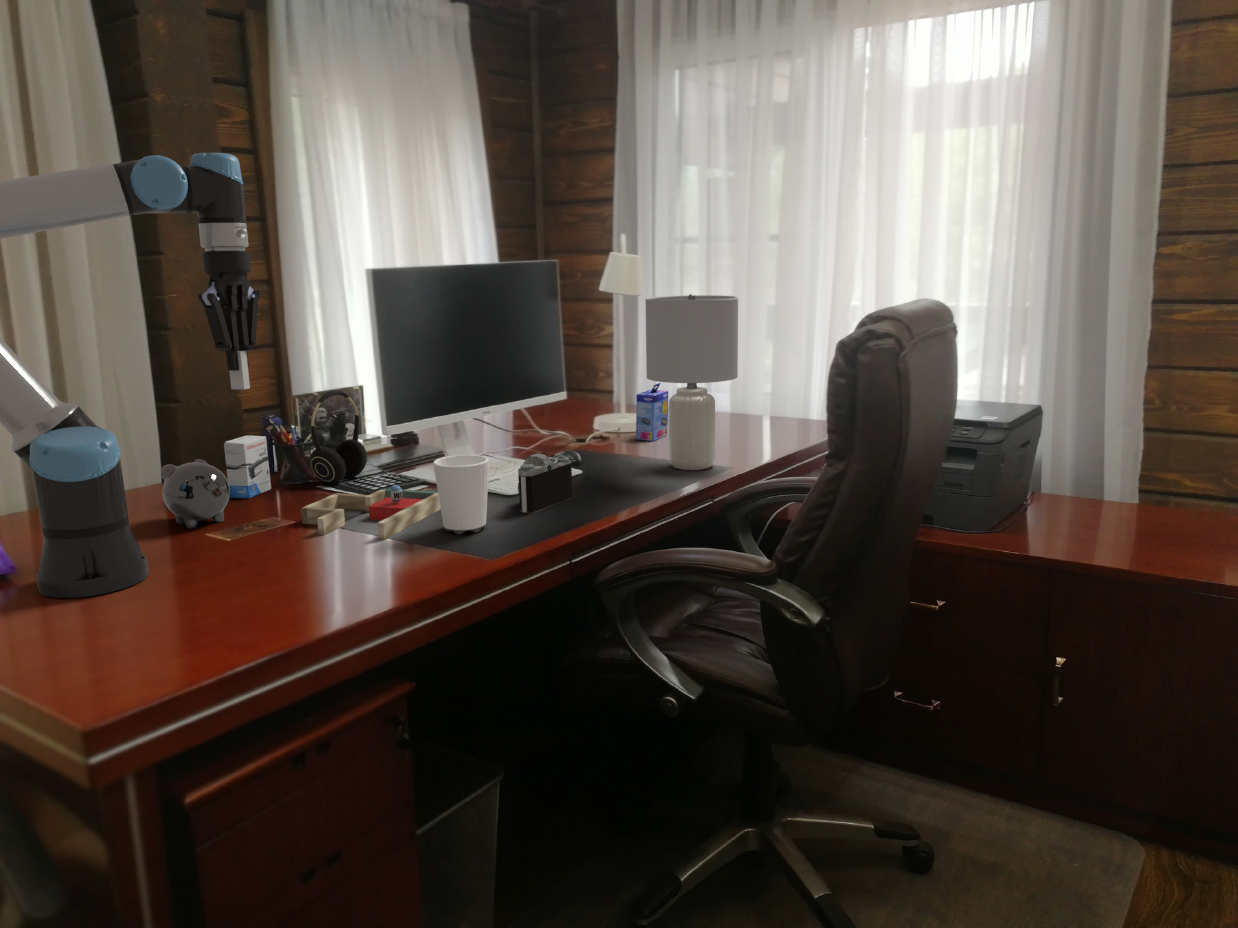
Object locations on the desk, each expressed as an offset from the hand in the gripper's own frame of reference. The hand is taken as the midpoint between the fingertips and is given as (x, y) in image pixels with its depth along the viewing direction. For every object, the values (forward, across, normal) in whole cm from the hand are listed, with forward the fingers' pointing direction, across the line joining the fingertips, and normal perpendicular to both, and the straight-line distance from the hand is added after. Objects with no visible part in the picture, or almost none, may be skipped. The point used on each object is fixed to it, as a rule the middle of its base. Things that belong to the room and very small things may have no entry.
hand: (240, 388), depth 165 cm
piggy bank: (+27, +4, +16) cm, 31 cm away
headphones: (+27, +40, +9) cm, 49 cm away
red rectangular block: (+27, +17, -19) cm, 37 cm away
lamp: (+27, +70, -64) cm, 99 cm away
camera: (+27, +32, -42) cm, 59 cm away
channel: (+26, +14, -14) cm, 33 cm away
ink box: (+27, +25, +21) cm, 42 cm away
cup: (+27, +12, -36) cm, 46 cm away
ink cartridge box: (+27, +101, -46) cm, 114 cm away
